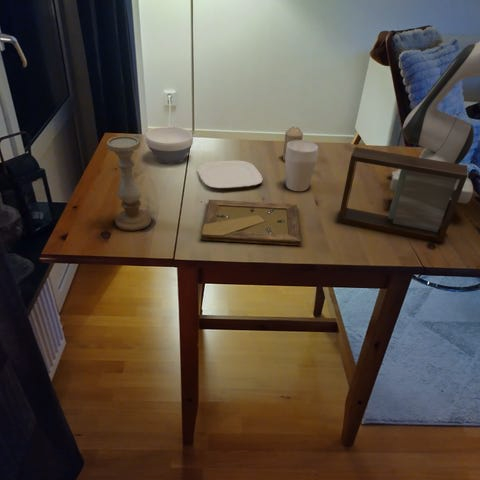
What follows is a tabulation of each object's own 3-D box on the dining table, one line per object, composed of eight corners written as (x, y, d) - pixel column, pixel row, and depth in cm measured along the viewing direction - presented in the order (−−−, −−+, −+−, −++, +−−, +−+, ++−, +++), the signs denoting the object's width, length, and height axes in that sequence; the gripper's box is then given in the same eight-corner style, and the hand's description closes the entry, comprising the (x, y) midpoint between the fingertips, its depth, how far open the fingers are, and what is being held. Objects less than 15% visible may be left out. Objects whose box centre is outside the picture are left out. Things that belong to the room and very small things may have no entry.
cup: (313, 182, 138) (320, 142, 130) (311, 195, 132) (317, 153, 124) (284, 178, 139) (288, 138, 132) (279, 191, 133) (284, 149, 125)
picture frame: (202, 240, 111) (300, 246, 111) (201, 234, 110) (301, 239, 110) (208, 204, 125) (295, 209, 125) (208, 198, 124) (296, 203, 124)
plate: (249, 163, 146) (250, 158, 145) (267, 188, 134) (268, 183, 132) (193, 168, 142) (193, 162, 141) (206, 194, 129) (206, 188, 128)
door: (389, 211, 123) (403, 159, 113) (431, 219, 120) (450, 167, 111) (387, 218, 119) (402, 166, 110) (431, 227, 117) (450, 174, 108)
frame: (341, 211, 125) (355, 146, 113) (442, 231, 119) (467, 165, 107) (337, 222, 121) (351, 155, 109) (441, 243, 115) (467, 175, 103)
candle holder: (109, 219, 117) (96, 138, 103) (141, 210, 121) (132, 132, 107) (124, 234, 112) (112, 152, 98) (157, 225, 116) (149, 144, 102)
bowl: (144, 151, 151) (142, 127, 146) (188, 148, 154) (187, 125, 149) (151, 169, 140) (148, 144, 135) (197, 166, 144) (197, 141, 139)
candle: (285, 163, 148) (289, 131, 141) (280, 156, 152) (283, 125, 145) (301, 162, 149) (306, 130, 143) (296, 155, 153) (300, 124, 147)
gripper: (395, 159, 126) (390, 179, 116) (474, 172, 121) (476, 194, 111) (389, 181, 130) (384, 202, 120) (466, 195, 125) (466, 218, 115)
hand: (429, 198), depth 115 cm, fingers open, 8 cm apart
